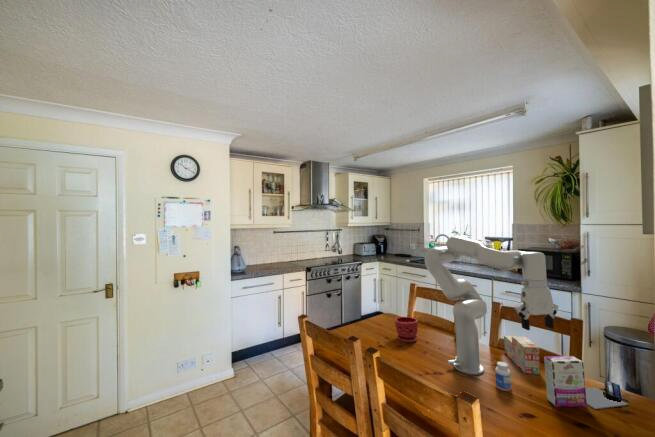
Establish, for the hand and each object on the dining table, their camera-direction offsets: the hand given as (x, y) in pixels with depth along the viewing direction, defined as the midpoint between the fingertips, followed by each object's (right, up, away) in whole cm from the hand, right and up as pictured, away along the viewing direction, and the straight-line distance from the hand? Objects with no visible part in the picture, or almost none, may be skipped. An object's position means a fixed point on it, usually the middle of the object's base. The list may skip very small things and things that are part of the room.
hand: (537, 328), depth 108 cm
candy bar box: (+8, -27, -3) cm, 28 cm away
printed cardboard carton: (+13, -28, +28) cm, 42 cm away
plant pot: (-34, -31, +60) cm, 75 cm away
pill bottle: (-9, -28, +7) cm, 30 cm away
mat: (+21, -26, -1) cm, 34 cm away
